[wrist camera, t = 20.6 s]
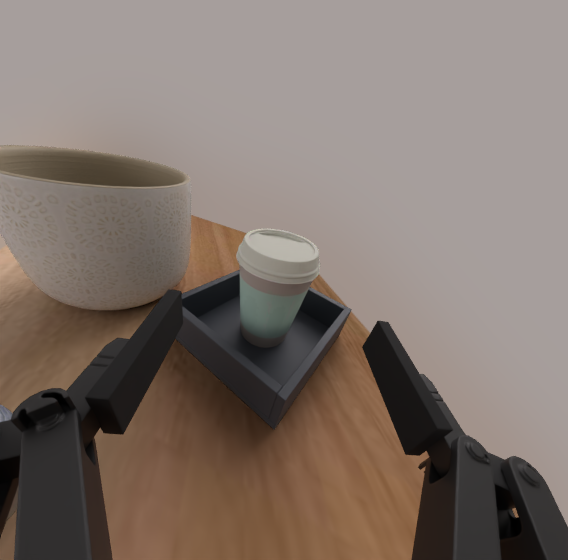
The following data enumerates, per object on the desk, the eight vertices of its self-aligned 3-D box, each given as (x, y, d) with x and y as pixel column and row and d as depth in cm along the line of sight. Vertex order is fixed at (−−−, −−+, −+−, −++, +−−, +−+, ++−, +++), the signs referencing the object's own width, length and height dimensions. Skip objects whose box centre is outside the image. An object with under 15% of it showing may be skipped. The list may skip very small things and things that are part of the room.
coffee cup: (307, 328, 29) (337, 248, 23) (271, 372, 22) (299, 276, 16) (257, 299, 32) (272, 221, 26) (213, 330, 25) (218, 236, 19)
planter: (43, 264, 30) (-13, 136, 22) (175, 252, 40) (169, 161, 32) (27, 355, 20) (-91, 174, 12) (210, 306, 30) (214, 193, 22)
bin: (339, 334, 30) (351, 309, 28) (274, 430, 19) (285, 400, 16) (256, 284, 37) (261, 260, 34) (168, 332, 25) (165, 300, 22)
